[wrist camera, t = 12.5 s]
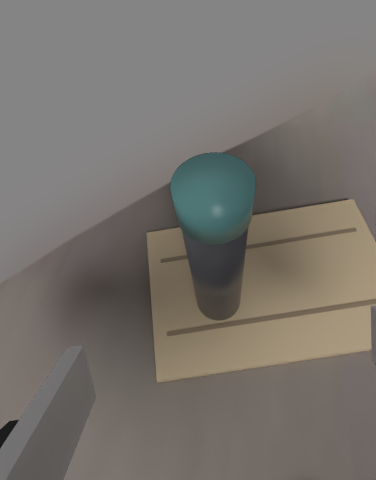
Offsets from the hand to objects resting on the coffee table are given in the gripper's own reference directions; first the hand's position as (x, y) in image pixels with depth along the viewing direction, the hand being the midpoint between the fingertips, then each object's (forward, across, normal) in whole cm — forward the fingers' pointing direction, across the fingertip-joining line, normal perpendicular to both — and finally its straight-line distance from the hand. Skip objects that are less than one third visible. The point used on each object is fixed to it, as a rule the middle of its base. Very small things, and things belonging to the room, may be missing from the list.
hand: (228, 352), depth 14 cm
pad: (+10, +4, -1) cm, 11 cm away
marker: (+9, 0, -2) cm, 9 cm away
